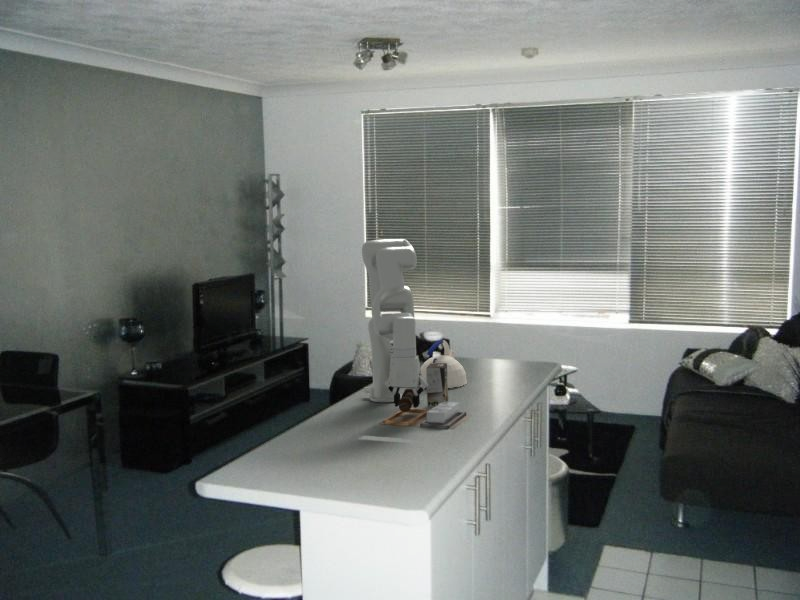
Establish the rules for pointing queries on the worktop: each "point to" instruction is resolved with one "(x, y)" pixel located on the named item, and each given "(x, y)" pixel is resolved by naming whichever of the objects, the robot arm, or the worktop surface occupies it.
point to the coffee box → (436, 384)
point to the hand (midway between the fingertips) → (406, 405)
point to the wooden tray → (421, 419)
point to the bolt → (406, 400)
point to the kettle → (453, 366)
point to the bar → (443, 413)
